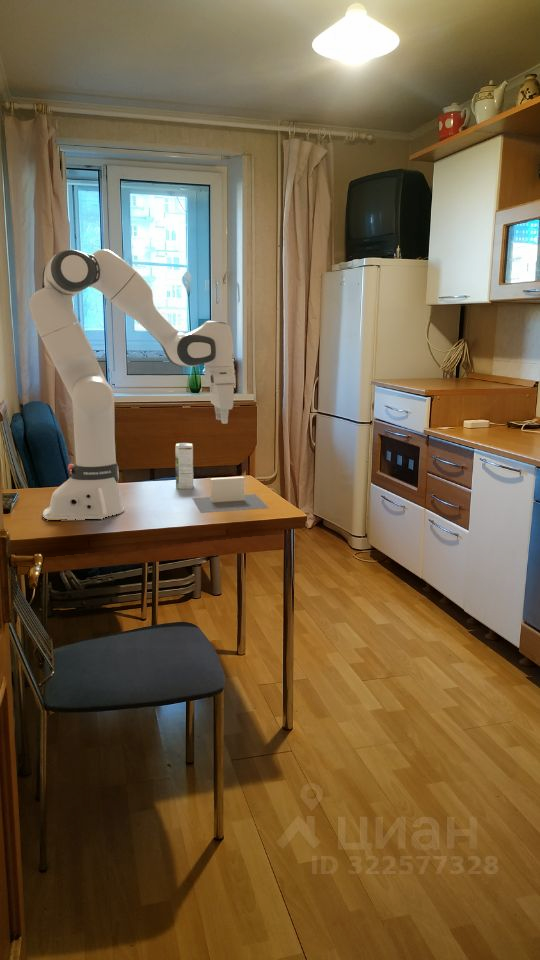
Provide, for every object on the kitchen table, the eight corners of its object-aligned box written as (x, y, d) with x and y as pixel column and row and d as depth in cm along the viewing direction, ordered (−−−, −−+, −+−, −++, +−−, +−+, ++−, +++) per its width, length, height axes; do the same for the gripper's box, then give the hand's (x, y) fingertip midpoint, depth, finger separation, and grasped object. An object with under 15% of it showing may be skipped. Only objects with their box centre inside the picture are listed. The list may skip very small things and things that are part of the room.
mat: (200, 513, 194) (200, 512, 194) (192, 499, 211) (192, 498, 211) (269, 509, 199) (269, 507, 199) (255, 495, 216) (255, 494, 216)
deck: (211, 502, 206) (211, 479, 204) (210, 500, 207) (210, 478, 206) (244, 500, 208) (244, 477, 206) (243, 498, 210) (242, 476, 208)
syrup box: (176, 485, 231) (174, 443, 228) (194, 485, 231) (192, 442, 228) (176, 489, 225) (174, 445, 222) (194, 488, 226) (192, 445, 223)
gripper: (204, 374, 215) (206, 418, 218) (214, 378, 196) (217, 426, 198) (224, 373, 216) (226, 417, 219) (236, 377, 197) (238, 425, 200)
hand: (221, 421), depth 209 cm, fingers open, 8 cm apart
